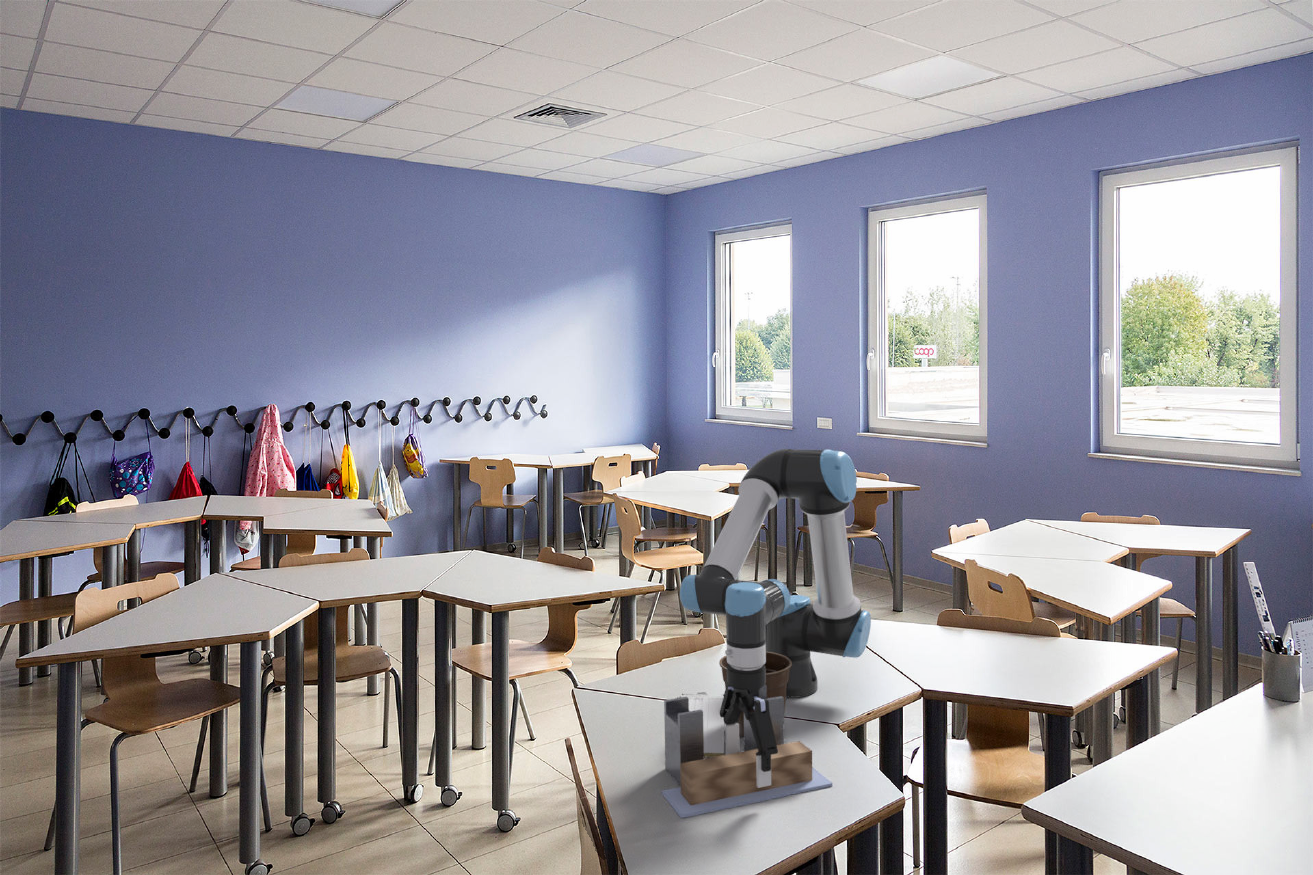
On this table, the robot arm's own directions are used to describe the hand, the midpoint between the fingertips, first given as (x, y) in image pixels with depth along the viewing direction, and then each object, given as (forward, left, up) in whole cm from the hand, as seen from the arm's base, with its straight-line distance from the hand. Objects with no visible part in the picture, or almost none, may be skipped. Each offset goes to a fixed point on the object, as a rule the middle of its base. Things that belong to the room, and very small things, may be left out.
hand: (747, 770), depth 171 cm
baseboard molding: (-3, -31, -5) cm, 32 cm away
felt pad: (0, 0, -4) cm, 4 cm away
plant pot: (-14, -24, -4) cm, 28 cm away
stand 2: (-9, -10, -4) cm, 14 cm away
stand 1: (+9, -10, -4) cm, 14 cm away
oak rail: (0, 0, -3) cm, 3 cm away
